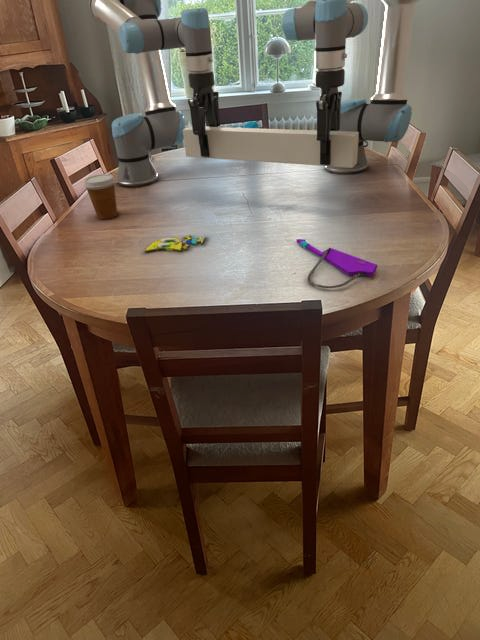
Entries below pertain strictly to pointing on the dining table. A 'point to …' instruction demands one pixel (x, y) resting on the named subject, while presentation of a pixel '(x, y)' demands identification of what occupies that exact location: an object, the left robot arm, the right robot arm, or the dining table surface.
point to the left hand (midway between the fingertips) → (209, 153)
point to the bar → (273, 145)
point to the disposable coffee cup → (102, 195)
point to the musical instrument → (340, 263)
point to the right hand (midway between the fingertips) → (328, 161)
